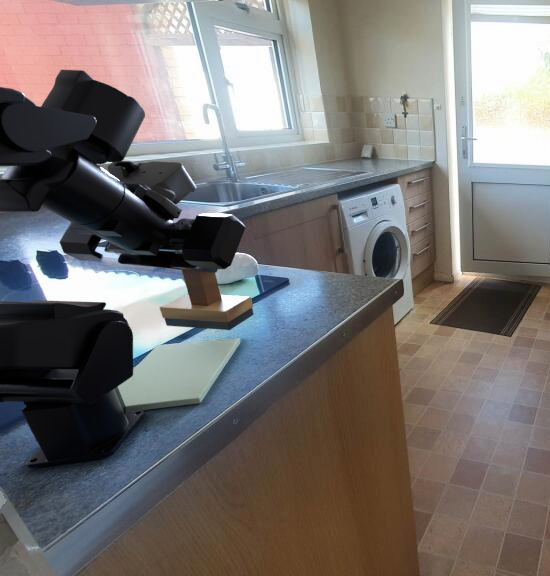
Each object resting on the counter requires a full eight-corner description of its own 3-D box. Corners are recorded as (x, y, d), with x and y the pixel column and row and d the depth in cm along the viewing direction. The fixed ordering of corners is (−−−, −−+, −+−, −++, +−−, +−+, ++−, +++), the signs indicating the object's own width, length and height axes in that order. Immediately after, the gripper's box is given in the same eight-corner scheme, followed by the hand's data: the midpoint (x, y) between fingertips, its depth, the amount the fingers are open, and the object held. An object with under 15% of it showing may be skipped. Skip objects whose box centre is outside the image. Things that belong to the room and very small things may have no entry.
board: (200, 403, 47) (198, 397, 46) (93, 416, 44) (90, 410, 44) (240, 342, 59) (239, 337, 59) (159, 349, 57) (157, 344, 56)
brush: (230, 330, 54) (205, 234, 49) (165, 326, 54) (134, 230, 49) (255, 314, 58) (235, 224, 53) (195, 310, 59) (169, 221, 54)
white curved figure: (197, 290, 80) (157, 259, 70) (212, 258, 84) (175, 224, 74) (260, 292, 81) (228, 261, 71) (271, 260, 84) (242, 226, 75)
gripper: (214, 140, 43) (291, 221, 57) (49, 133, 44) (166, 214, 58) (171, 231, 39) (266, 294, 53) (-11, 221, 40) (131, 285, 54)
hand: (207, 268), depth 55 cm, fingers closed on brush, 2 cm apart
